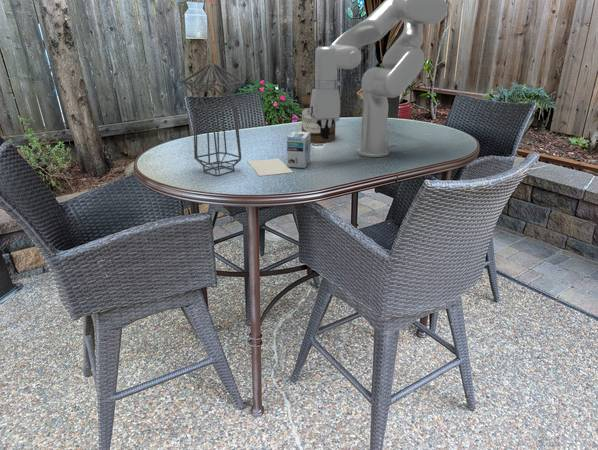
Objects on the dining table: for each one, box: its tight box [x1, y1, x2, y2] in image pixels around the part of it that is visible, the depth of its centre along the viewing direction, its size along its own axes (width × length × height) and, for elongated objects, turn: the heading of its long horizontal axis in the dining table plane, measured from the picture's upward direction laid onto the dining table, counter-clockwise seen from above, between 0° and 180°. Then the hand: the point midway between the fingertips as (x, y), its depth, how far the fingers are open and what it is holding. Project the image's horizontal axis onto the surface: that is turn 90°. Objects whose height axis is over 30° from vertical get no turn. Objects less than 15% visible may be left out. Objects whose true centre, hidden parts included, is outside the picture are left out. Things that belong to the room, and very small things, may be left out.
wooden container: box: [301, 94, 337, 144], centre depth 186 cm, size 15×15×22 cm
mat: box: [247, 158, 294, 177], centre depth 152 cm, size 12×18×1 cm, turn 19°
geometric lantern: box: [181, 63, 246, 177], centre depth 141 cm, size 16×16×35 cm
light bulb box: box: [286, 130, 311, 169], centre depth 153 cm, size 11×7×11 cm, turn 169°
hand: (324, 138), depth 155 cm, fingers closed
